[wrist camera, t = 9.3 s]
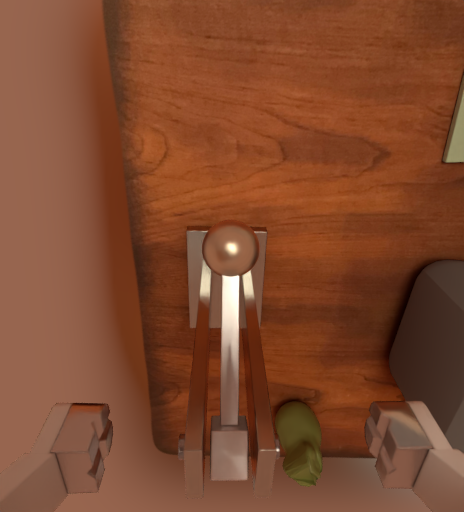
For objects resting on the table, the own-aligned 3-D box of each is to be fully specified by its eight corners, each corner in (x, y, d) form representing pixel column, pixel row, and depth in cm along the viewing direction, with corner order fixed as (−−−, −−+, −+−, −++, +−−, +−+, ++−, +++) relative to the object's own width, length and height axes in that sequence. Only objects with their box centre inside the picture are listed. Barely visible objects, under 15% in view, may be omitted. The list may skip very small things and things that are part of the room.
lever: (203, 223, 25) (200, 215, 21) (256, 224, 25) (262, 215, 21) (200, 455, 24) (196, 487, 20) (255, 455, 24) (261, 487, 20)
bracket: (187, 225, 37) (149, 400, 18) (266, 227, 37) (313, 400, 18) (190, 321, 43) (164, 534, 23) (259, 321, 43) (289, 532, 24)
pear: (292, 426, 51) (306, 501, 43) (264, 409, 50) (273, 484, 41) (321, 404, 50) (342, 478, 41) (293, 386, 48) (309, 459, 39)
